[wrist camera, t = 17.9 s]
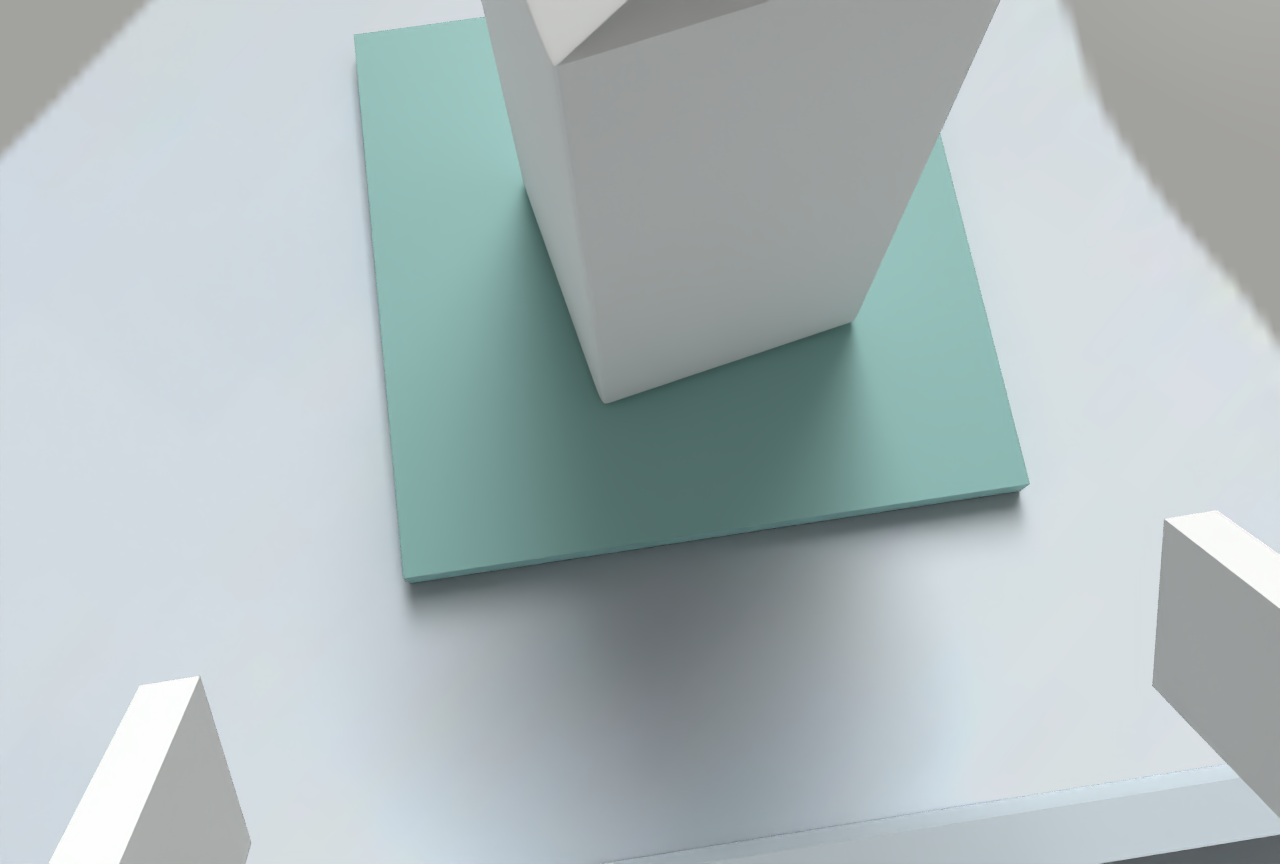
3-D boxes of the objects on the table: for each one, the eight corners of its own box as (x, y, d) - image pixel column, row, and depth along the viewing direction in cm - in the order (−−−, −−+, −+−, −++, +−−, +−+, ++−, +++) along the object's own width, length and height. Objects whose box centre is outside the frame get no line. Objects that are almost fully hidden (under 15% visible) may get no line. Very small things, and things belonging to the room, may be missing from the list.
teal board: (410, 583, 29) (403, 578, 28) (360, 51, 33) (354, 34, 32) (1020, 490, 29) (1030, 483, 28) (890, -22, 34) (896, -40, 33)
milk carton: (602, 409, 29) (512, -176, 11) (521, 178, 31) (328, -649, 13) (856, 324, 30) (1175, -368, 11) (761, 103, 32) (903, -792, 13)
